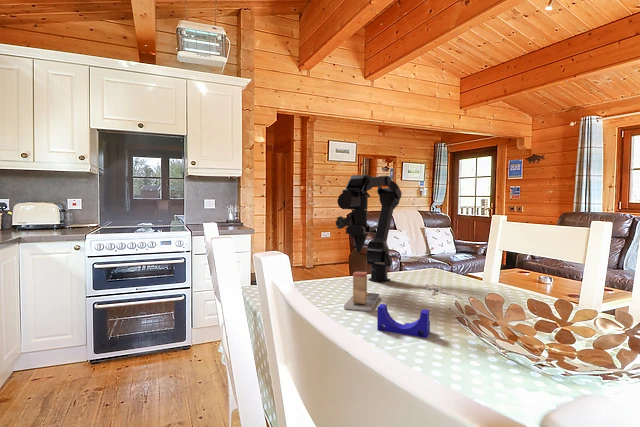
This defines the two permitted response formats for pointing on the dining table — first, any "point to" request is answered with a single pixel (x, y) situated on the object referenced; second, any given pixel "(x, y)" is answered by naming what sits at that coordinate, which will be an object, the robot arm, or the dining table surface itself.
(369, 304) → the flange plate
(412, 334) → the blue cradle bracket
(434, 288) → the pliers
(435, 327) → the dining table surface
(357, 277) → the marker post
